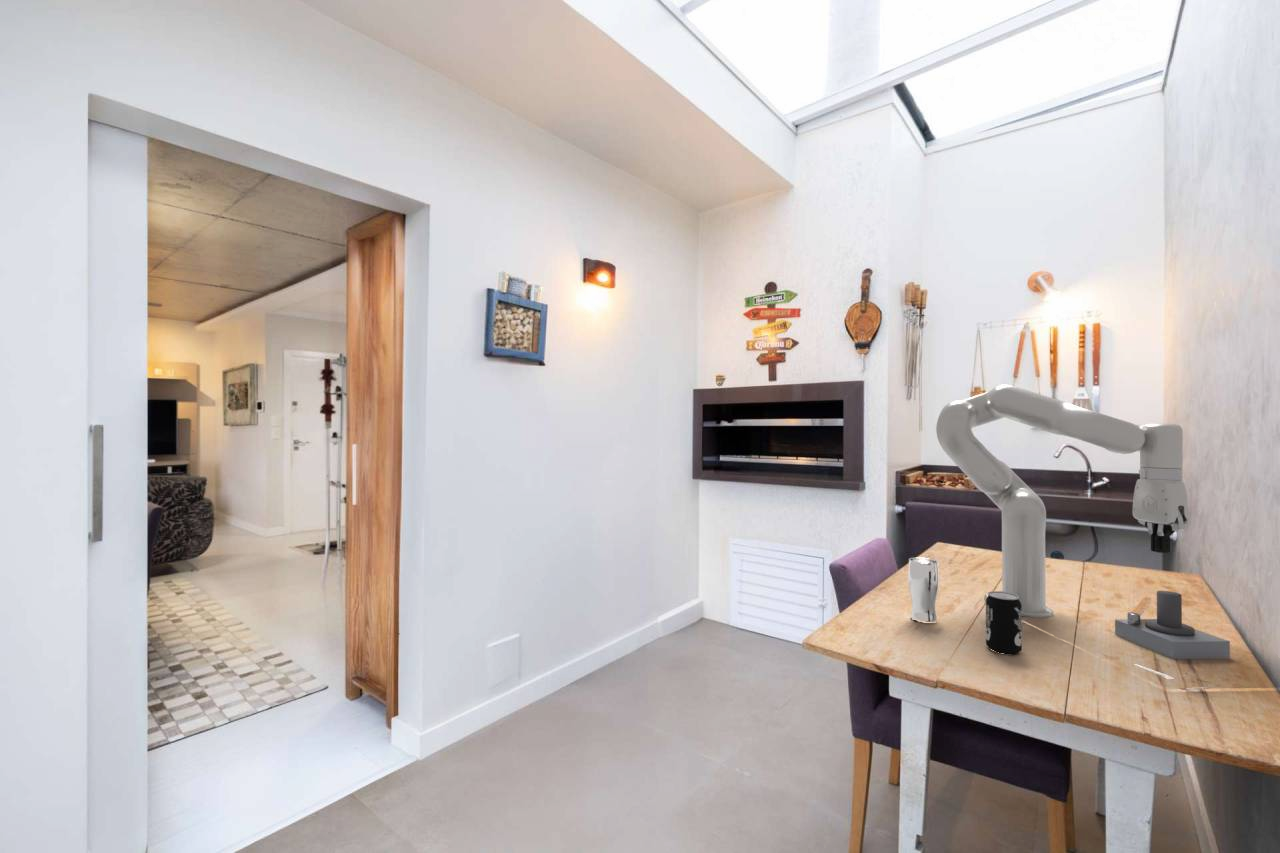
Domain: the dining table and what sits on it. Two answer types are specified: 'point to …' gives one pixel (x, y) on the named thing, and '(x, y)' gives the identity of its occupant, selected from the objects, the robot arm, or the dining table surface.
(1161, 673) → the fork
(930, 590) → the beer glass
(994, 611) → the beverage can
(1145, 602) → the orange stick
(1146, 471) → the robot arm
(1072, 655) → the dining table surface
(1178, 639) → the socket block
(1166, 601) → the plug
